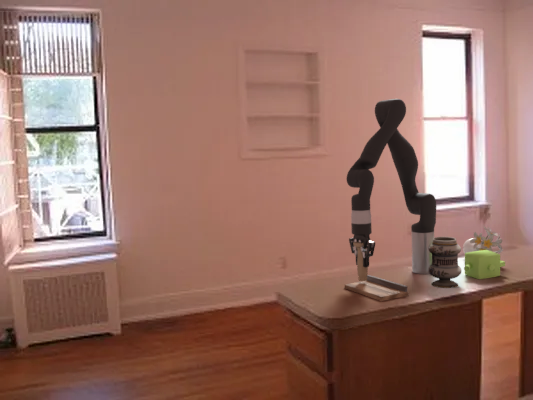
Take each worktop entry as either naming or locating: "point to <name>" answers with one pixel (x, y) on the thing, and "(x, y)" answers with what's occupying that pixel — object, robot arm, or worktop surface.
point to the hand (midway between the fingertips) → (362, 265)
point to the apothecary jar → (444, 261)
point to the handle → (361, 263)
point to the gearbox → (483, 264)
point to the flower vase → (482, 242)
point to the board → (378, 288)
